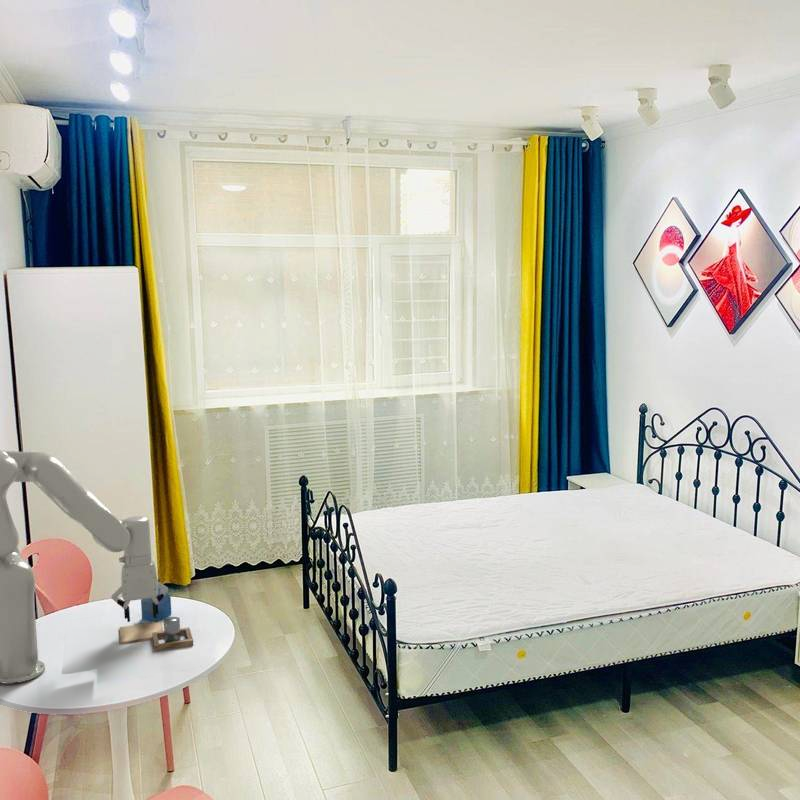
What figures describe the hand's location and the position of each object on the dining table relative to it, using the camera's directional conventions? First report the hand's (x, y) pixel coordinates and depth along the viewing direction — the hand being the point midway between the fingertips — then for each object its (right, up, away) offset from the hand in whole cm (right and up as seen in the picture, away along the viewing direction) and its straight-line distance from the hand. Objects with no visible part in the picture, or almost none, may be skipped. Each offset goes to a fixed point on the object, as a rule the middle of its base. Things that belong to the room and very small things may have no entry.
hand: (141, 617), depth 237 cm
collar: (+11, -5, -6) cm, 14 cm away
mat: (0, -5, 0) cm, 5 cm away
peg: (+11, -5, -6) cm, 14 cm away
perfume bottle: (+1, -4, +12) cm, 13 cm away
